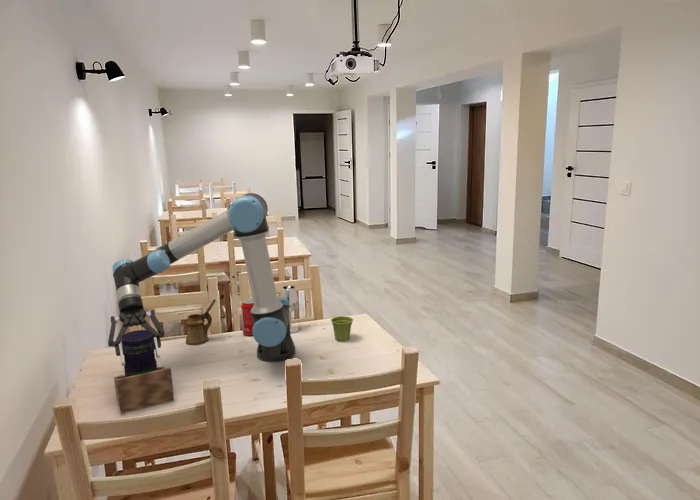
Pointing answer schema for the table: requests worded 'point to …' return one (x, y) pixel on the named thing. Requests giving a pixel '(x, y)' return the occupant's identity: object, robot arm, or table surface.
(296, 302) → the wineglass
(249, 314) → the soda can
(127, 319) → the robot arm
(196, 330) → the wooden mug
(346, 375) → the table surface
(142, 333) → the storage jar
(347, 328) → the plant pot
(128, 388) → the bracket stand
